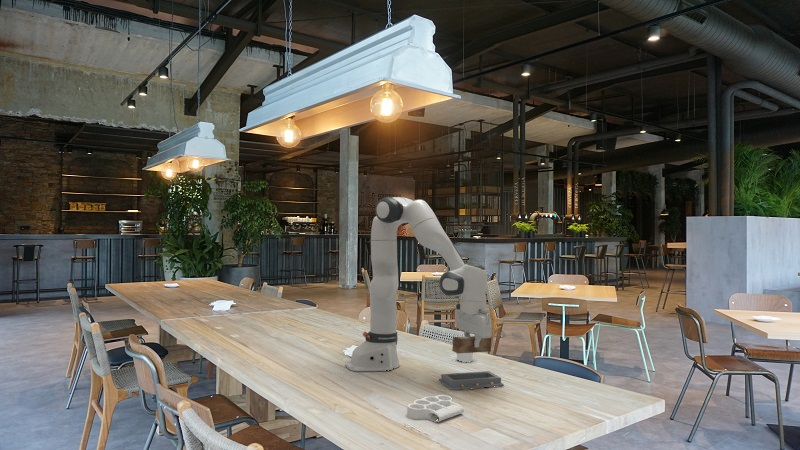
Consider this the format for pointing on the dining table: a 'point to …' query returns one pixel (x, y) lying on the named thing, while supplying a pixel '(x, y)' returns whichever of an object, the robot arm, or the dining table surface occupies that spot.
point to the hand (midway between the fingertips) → (472, 345)
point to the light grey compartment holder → (434, 408)
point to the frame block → (470, 345)
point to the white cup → (464, 357)
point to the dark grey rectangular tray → (470, 380)
